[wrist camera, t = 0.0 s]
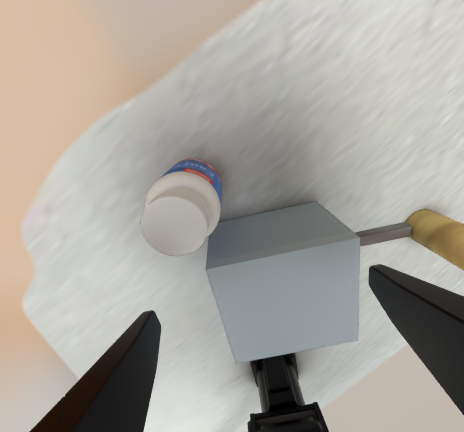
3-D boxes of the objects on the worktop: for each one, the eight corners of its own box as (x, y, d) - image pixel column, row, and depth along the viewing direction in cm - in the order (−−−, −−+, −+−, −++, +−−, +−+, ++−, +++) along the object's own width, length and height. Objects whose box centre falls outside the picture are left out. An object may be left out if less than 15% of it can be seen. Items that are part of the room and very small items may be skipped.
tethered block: (432, 239, 26) (502, 278, 20) (271, 272, 27) (287, 320, 20) (439, 200, 24) (519, 228, 18) (264, 237, 25) (280, 277, 18)
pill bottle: (221, 157, 21) (221, 183, 12) (222, 210, 23) (223, 265, 14) (163, 157, 21) (120, 184, 12) (169, 210, 23) (136, 267, 14)
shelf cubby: (321, 282, 28) (358, 340, 20) (231, 300, 28) (235, 363, 21) (316, 201, 23) (360, 237, 16) (210, 224, 24) (205, 269, 17)
